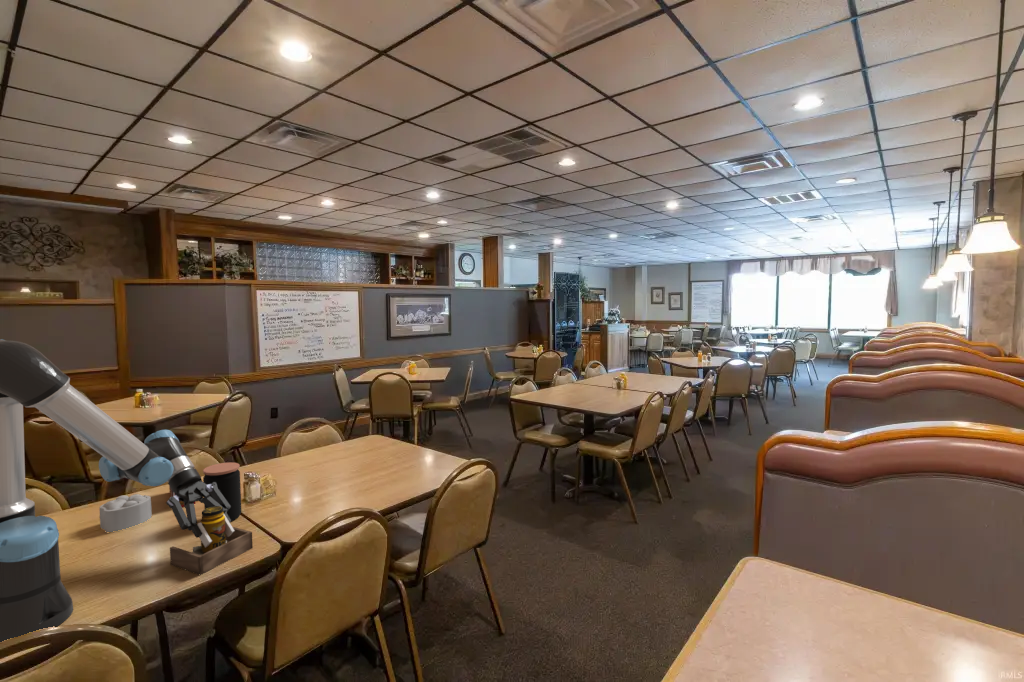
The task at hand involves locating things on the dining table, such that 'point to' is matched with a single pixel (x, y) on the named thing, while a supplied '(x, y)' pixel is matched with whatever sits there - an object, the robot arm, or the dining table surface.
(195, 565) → the caddy
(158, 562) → the dining table surface
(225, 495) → the coffee jar
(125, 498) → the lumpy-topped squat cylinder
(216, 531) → the condiment
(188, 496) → the robot arm
